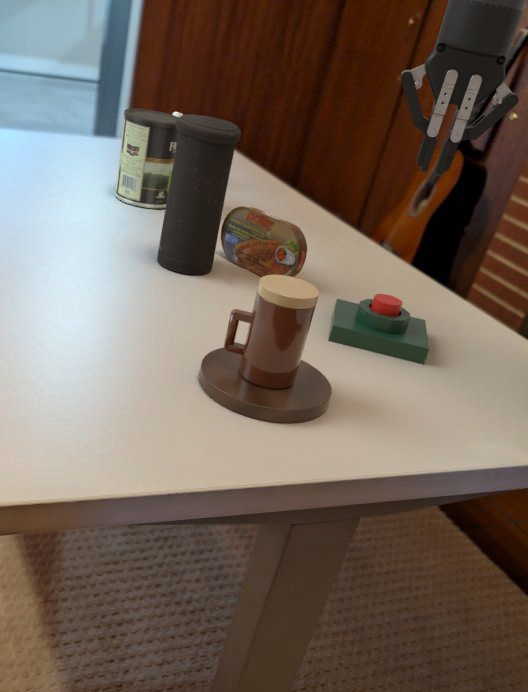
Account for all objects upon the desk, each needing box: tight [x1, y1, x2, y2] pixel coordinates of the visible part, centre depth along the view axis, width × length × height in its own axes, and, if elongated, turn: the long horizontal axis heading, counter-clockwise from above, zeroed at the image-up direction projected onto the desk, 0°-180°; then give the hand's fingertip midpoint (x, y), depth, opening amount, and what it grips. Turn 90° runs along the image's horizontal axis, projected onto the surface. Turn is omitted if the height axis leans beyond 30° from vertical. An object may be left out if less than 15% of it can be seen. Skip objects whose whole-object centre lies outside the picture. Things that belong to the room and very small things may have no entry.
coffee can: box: [114, 108, 179, 210], centre depth 130 cm, size 10×10×14 cm
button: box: [370, 293, 403, 317], centre depth 95 cm, size 4×4×2 cm
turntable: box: [198, 346, 333, 424], centre depth 80 cm, size 14×14×2 cm
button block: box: [327, 298, 430, 365], centre depth 97 cm, size 12×10×4 cm
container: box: [156, 113, 242, 275], centre depth 103 cm, size 9×9×20 cm
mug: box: [223, 275, 320, 389], centre depth 77 cm, size 8×6×10 cm
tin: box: [220, 205, 308, 278], centre depth 110 cm, size 15×3×8 cm, turn 43°
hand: (430, 172), depth 87 cm, fingers closed
